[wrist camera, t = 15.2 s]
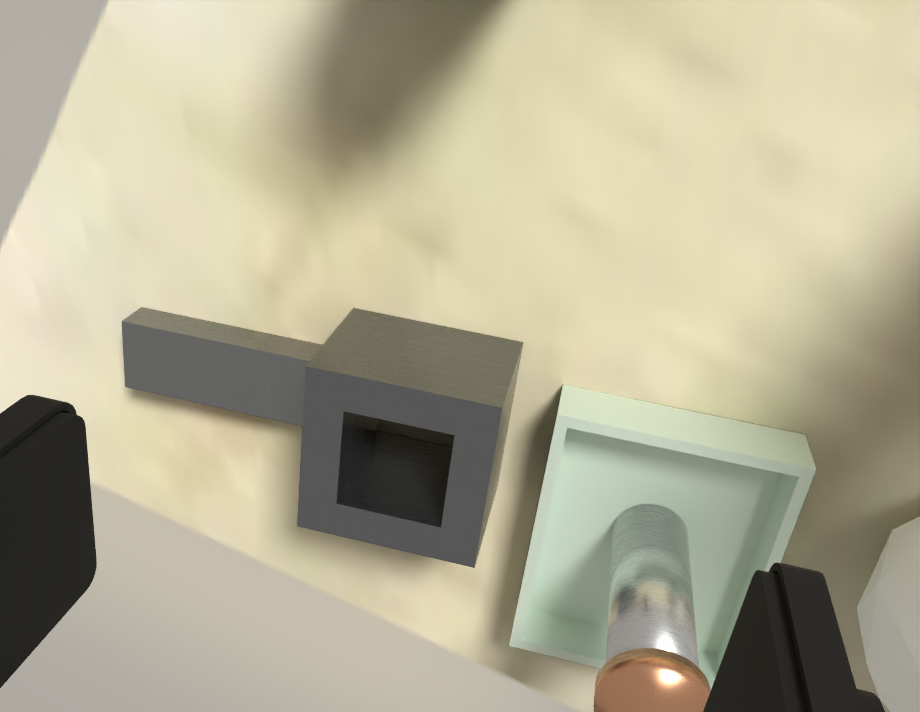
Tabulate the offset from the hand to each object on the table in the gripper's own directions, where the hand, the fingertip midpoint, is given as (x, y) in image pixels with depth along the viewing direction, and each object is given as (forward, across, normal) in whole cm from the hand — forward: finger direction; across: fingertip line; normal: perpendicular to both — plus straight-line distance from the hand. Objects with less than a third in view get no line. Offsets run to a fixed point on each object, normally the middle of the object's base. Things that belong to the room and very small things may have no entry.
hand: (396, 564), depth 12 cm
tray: (+30, -8, +20) cm, 37 cm away
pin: (+30, -8, +20) cm, 37 cm away
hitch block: (+30, +11, +15) cm, 36 cm away
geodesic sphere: (+31, -24, +17) cm, 42 cm away
